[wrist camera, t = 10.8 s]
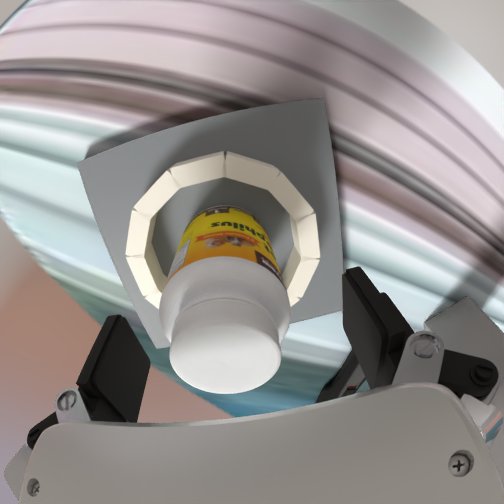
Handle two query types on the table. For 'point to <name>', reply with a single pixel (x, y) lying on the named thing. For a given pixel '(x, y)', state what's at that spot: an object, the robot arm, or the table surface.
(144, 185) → the collar
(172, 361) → the supplement bottle
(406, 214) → the table surface
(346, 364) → the electric trimmer
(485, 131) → the table surface
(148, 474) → the robot arm
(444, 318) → the perfume bottle
